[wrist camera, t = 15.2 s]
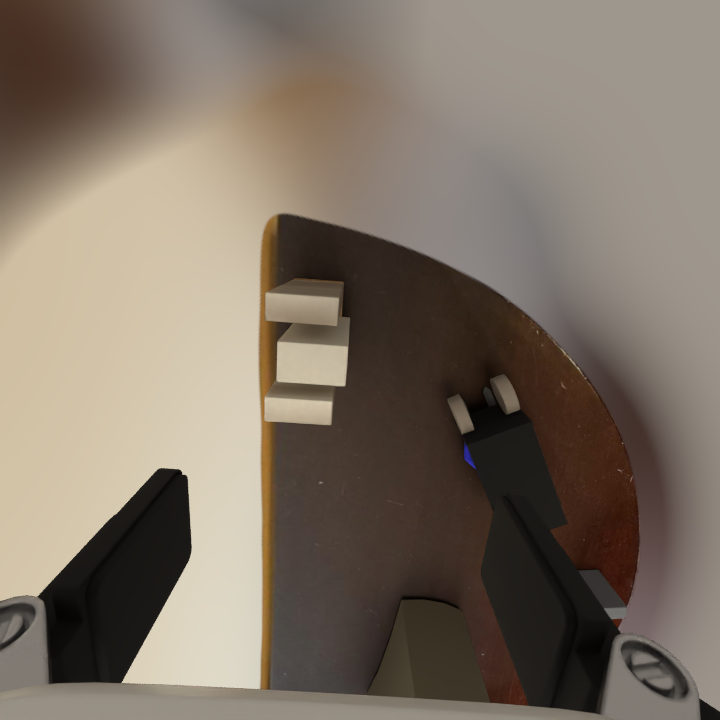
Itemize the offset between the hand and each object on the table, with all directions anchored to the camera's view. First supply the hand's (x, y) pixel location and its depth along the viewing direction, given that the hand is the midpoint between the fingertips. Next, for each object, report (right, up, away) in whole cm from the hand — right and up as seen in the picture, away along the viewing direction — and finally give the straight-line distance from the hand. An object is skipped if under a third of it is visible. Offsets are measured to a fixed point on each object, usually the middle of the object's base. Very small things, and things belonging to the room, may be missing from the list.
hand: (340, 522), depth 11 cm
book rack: (-4, +8, +25) cm, 26 cm away
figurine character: (+14, -3, +28) cm, 32 cm away
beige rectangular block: (-3, +8, +24) cm, 25 cm away
